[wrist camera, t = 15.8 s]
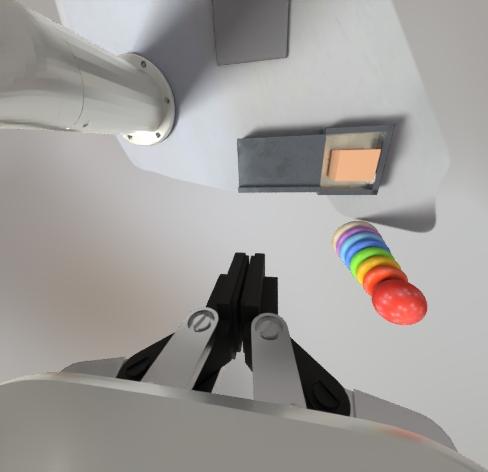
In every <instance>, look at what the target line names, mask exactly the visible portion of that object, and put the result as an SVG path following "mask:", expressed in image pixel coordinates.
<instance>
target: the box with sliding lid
mask: <svg viewBox="0 0 488 472" xmlns="http://www.w3.org/2000/svg"><path fill="white" fill-rule="evenodd" d="M394 126H395V124H391V125H373V126H355V127H337V128H325V129H322V134H321V135H302V136H282V137H263V138H243V139H237V150H238V170H239V187H238V193H247V192H316V193H317V194H318V195H377V192H378V189H379V185H380V181H381V177H382V173H383V169H384V165H385V161H386V157H387V153H388V149H389V146H390V142H391V138H392V134H393V130H394ZM365 148H366V149H381V152H380V156H379V160H378V164H377V168H376V172H375V176H374V180H373V181H334V180H333V179H331V178H330V177H328V176H327V173H328V166H329V159H330V153H331V149H365Z"/></svg>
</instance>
